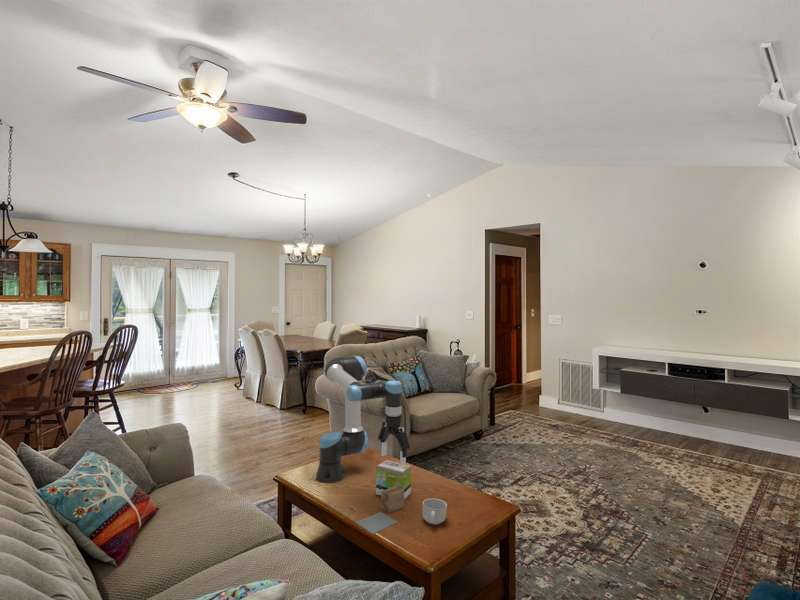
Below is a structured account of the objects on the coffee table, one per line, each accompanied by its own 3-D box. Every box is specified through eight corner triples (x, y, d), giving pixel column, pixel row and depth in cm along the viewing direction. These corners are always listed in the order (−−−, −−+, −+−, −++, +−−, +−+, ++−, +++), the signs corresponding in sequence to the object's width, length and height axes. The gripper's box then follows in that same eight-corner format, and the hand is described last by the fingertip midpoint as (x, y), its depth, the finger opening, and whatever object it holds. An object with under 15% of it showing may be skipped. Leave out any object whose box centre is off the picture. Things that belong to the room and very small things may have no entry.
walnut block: (381, 508, 204) (381, 491, 203) (395, 502, 210) (395, 485, 209) (389, 513, 199) (389, 495, 199) (404, 506, 205) (404, 489, 205)
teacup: (426, 513, 199) (426, 495, 199) (449, 517, 196) (449, 500, 195) (416, 528, 186) (416, 509, 186) (441, 533, 183) (441, 514, 182)
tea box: (375, 495, 217) (375, 465, 217) (385, 487, 226) (385, 459, 225) (402, 502, 210) (402, 471, 210) (411, 493, 219) (411, 464, 218)
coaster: (355, 522, 191) (355, 522, 190) (380, 512, 200) (380, 511, 200) (372, 534, 181) (372, 533, 181) (398, 523, 191) (398, 522, 191)
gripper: (370, 410, 211) (370, 454, 211) (405, 422, 192) (405, 469, 192) (382, 407, 216) (382, 450, 216) (417, 418, 197) (417, 465, 197)
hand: (393, 459), depth 204 cm, fingers open, 13 cm apart
